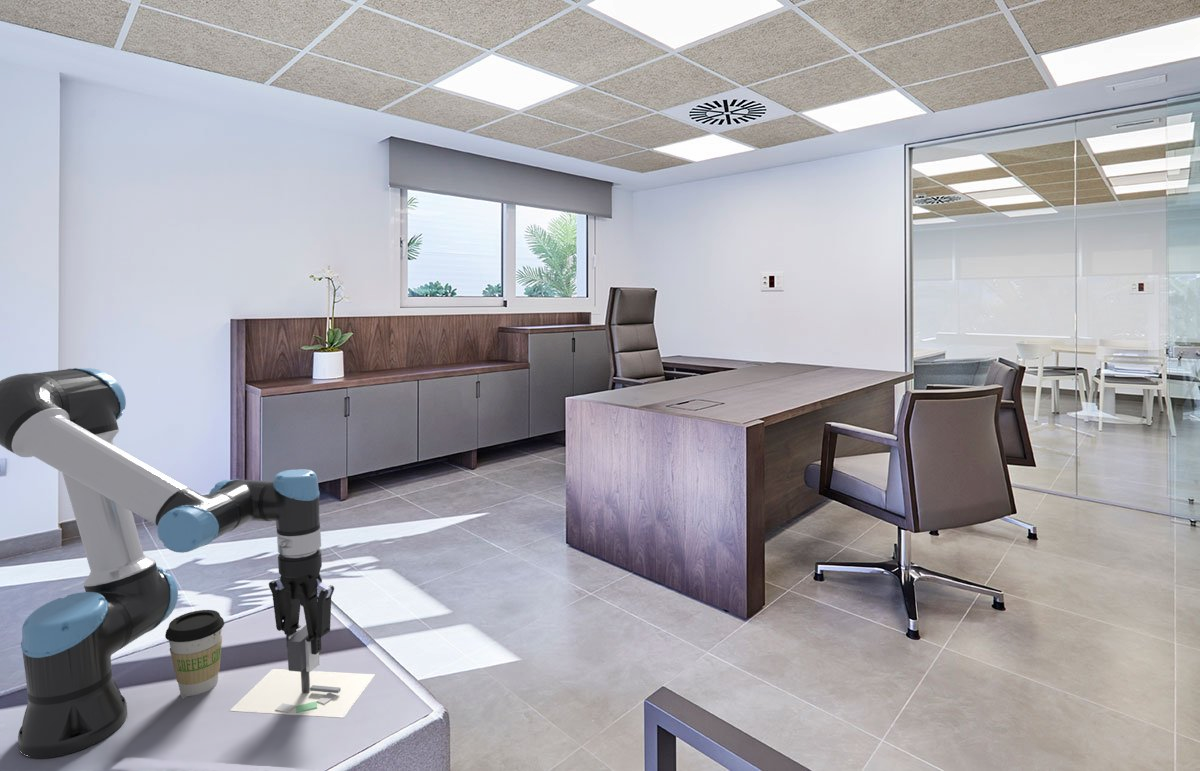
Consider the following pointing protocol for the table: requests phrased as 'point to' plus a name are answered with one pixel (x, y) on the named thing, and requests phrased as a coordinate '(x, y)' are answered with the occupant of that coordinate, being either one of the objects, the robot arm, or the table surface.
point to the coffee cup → (196, 650)
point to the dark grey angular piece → (303, 662)
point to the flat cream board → (304, 694)
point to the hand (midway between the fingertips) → (304, 666)
